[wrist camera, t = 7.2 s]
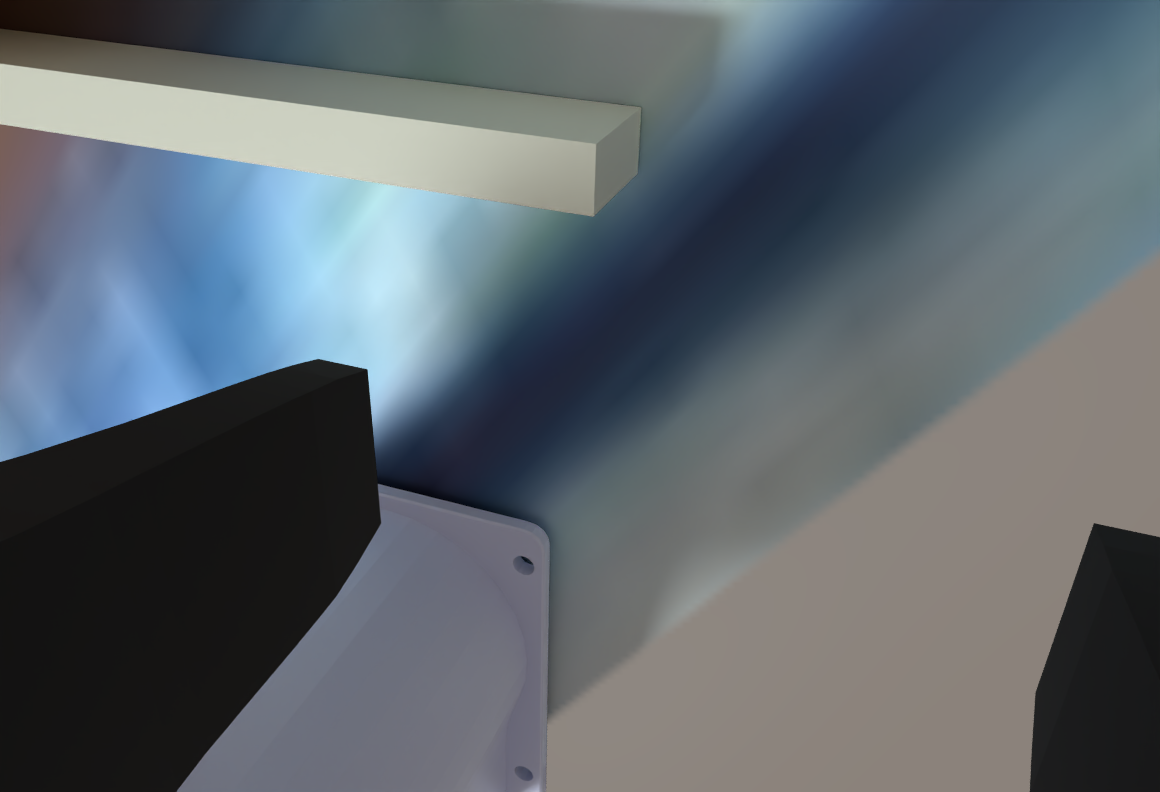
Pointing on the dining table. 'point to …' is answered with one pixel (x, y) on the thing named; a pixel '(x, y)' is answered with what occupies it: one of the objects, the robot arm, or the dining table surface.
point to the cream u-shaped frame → (325, 120)
